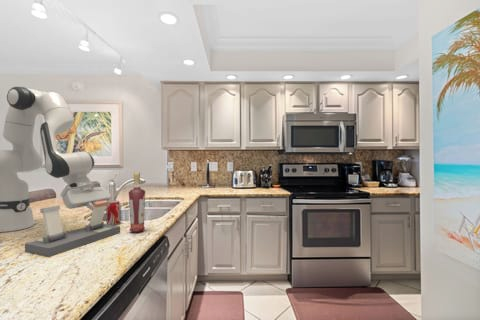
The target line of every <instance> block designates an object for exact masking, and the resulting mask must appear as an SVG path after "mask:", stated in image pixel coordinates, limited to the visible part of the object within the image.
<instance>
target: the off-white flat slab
mask: <svg viewBox="0 0 480 320" xmlns="http://www.w3.org/2000/svg"><path fill="white" fill-rule="evenodd" d="M106 205H108V201H106V200H104V201H98V202H94V203H93V206H94V208H93V211H92V212H91V216H90V220H89V223H88V225H90V230H91V229H95V228H98V227H101V226H102V222H103V220H104V216H105V213H106Z"/></svg>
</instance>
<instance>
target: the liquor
mask: <svg viewBox="0 0 480 320" xmlns="http://www.w3.org/2000/svg"><path fill="white" fill-rule="evenodd" d="M140 177H141V172H138V171H137V172H133V179H134V181H133V188H132V189H131V190H130V191H128V205H129V207H128V208H129V219H130V220H129V221H130V224H129V225H130V226H129V231H130V232H132V233H134V234H137V233H142V232H143V231H144V230H145V229H146V227H145V207H146V206H145V205H146V191H145V190H144V189H142V188H141V183H140Z"/></svg>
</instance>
